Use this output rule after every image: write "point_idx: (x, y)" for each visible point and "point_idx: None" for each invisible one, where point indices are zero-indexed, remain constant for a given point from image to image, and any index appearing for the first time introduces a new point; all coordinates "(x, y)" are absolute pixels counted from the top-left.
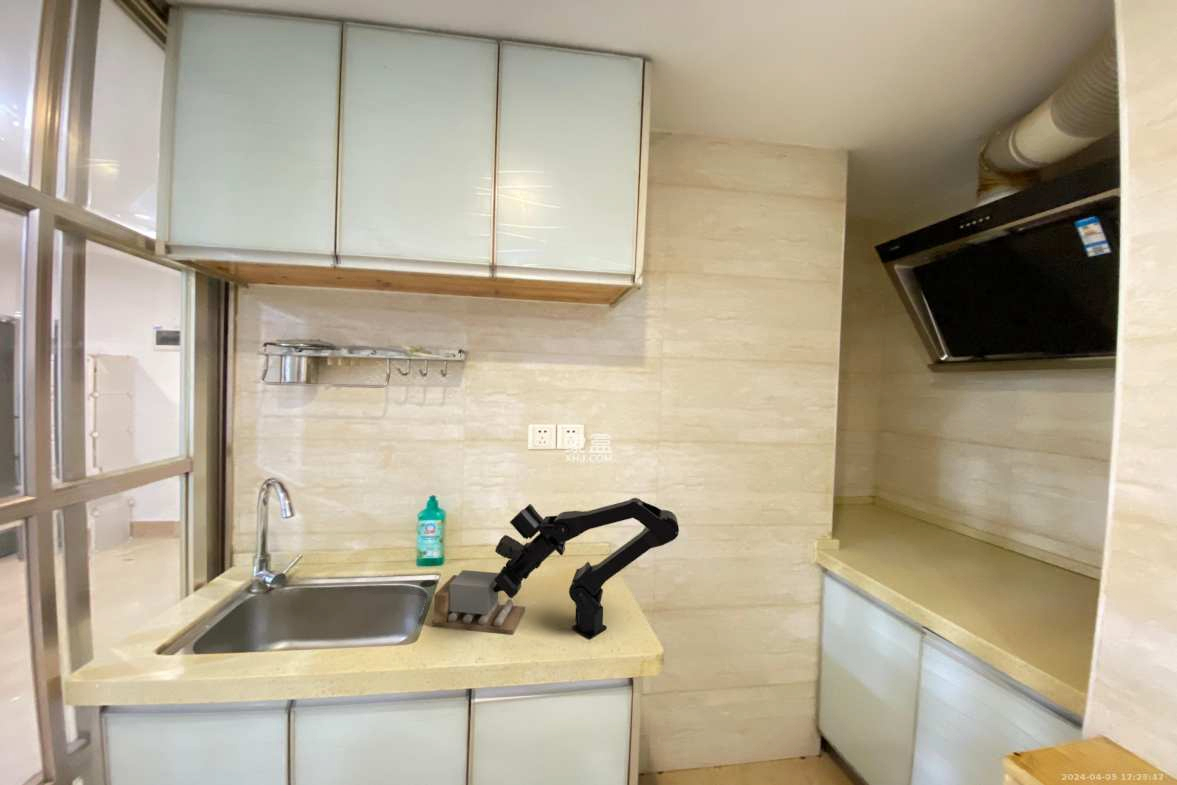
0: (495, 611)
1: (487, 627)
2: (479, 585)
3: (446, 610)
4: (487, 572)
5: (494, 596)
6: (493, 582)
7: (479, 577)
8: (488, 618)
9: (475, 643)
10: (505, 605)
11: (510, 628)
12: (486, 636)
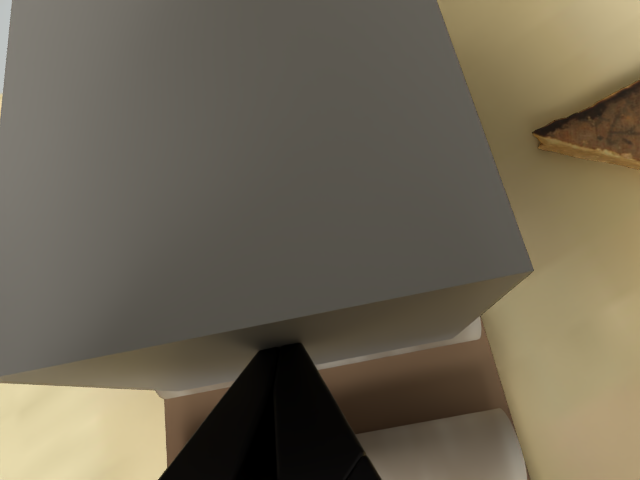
0: (379, 359)
1: (166, 418)
2: (17, 225)
3: None
4: (453, 93)
5: (340, 350)
6: (256, 335)
7: (252, 88)
8: (213, 389)
9: (58, 407)
10: (392, 459)
11: None
12: (137, 436)
